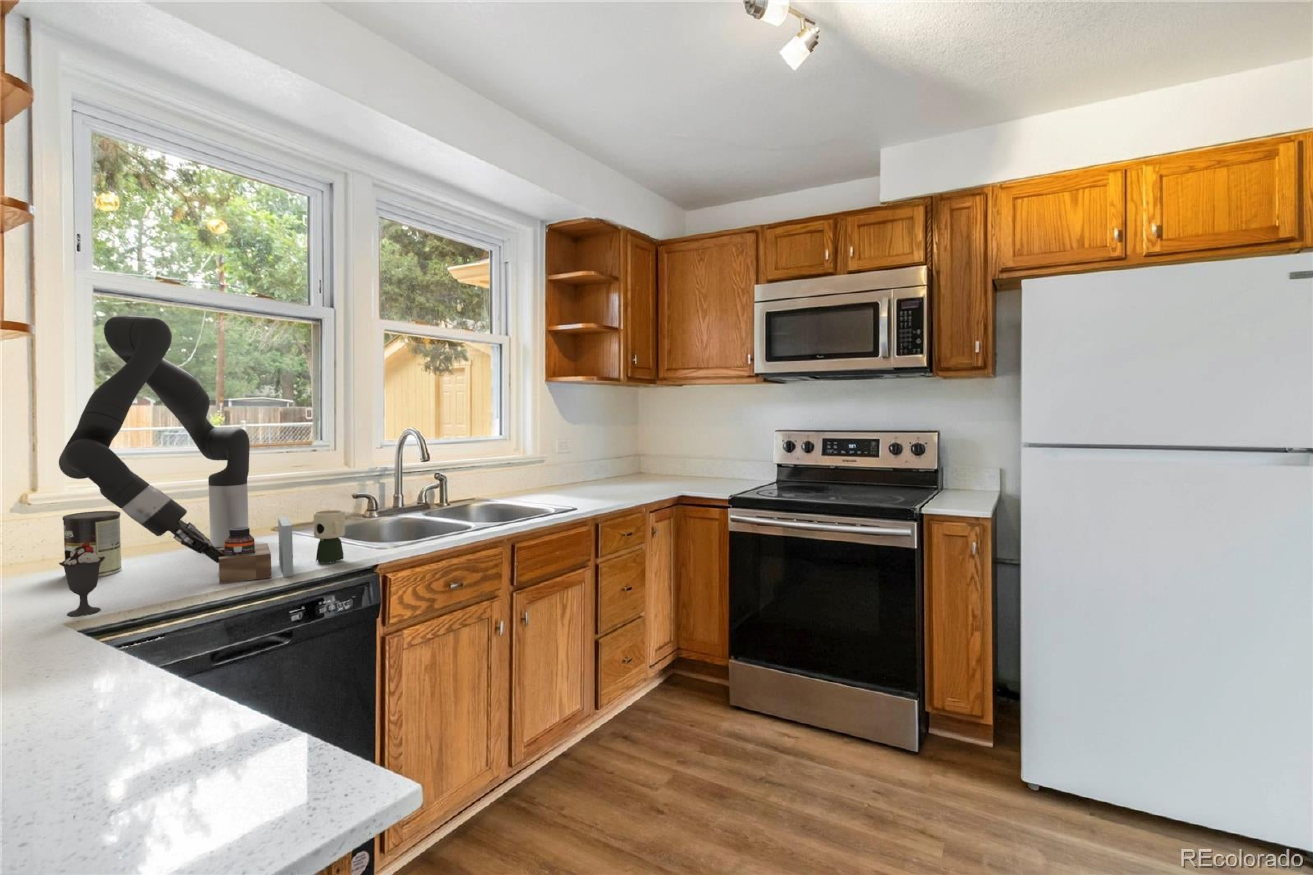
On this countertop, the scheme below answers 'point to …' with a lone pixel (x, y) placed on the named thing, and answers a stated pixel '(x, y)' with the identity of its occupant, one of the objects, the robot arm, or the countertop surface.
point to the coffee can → (96, 536)
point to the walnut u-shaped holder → (245, 565)
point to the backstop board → (285, 546)
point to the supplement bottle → (239, 542)
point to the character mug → (329, 535)
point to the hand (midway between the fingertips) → (222, 559)
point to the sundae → (82, 575)
